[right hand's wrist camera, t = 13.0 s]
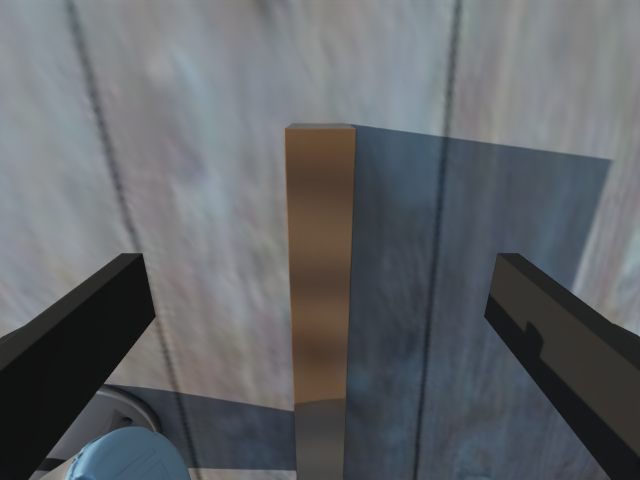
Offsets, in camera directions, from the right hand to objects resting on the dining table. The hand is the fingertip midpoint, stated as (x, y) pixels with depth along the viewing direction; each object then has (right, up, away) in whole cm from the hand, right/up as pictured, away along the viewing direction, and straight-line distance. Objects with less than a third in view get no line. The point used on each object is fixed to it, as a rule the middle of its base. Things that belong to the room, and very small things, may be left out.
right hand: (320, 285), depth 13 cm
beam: (0, -15, +30) cm, 34 cm away
